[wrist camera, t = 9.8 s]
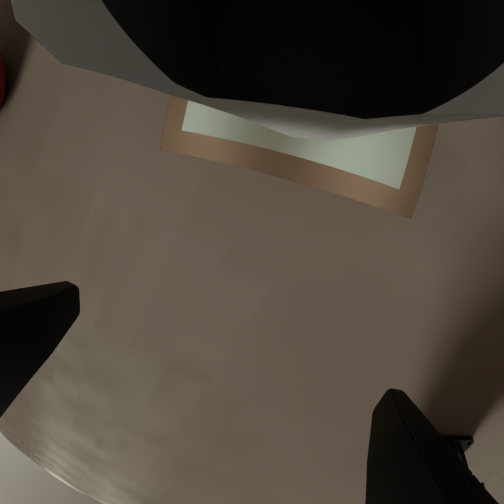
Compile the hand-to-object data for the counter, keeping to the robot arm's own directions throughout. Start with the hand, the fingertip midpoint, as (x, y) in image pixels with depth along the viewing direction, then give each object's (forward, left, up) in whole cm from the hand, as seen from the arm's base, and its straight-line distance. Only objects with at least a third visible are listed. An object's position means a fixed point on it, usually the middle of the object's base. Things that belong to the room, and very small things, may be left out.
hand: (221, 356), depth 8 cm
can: (0, -9, -6) cm, 11 cm away
